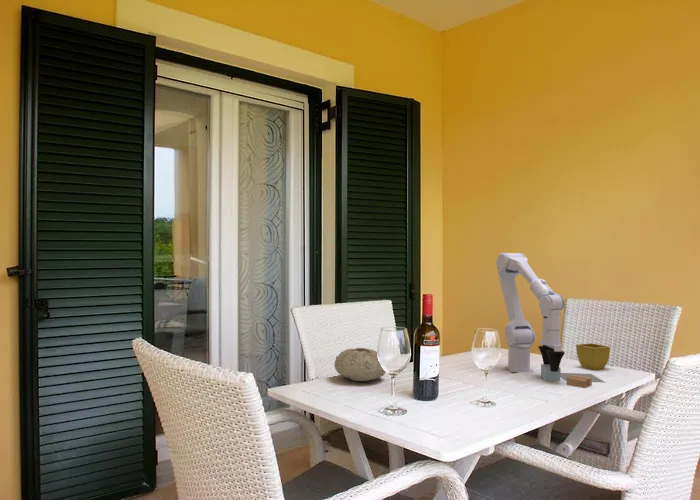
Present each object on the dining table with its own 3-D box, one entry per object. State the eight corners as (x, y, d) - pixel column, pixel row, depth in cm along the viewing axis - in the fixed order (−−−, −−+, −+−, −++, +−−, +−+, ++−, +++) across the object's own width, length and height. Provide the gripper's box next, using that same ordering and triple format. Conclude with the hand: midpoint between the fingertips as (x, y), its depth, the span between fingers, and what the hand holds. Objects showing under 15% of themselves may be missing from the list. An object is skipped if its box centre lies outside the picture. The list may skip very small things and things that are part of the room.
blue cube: (540, 378, 185) (541, 364, 185) (555, 379, 185) (555, 364, 185) (545, 382, 180) (545, 367, 180) (560, 382, 180) (560, 367, 180)
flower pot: (574, 367, 204) (575, 344, 204) (591, 365, 208) (591, 342, 208) (594, 372, 196) (594, 348, 196) (610, 370, 200) (611, 346, 200)
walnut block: (573, 383, 180) (573, 374, 180) (591, 386, 176) (591, 377, 176) (566, 386, 175) (566, 377, 175) (585, 390, 171) (585, 380, 171)
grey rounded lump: (397, 381, 178) (398, 351, 178) (356, 389, 167) (357, 357, 167) (363, 371, 192) (364, 343, 192) (323, 377, 181) (323, 348, 181)
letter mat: (554, 373, 193) (554, 372, 193) (591, 374, 192) (591, 373, 192) (566, 382, 180) (566, 381, 180) (605, 383, 179) (605, 382, 179)
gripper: (533, 326, 190) (533, 364, 190) (545, 332, 176) (545, 373, 176) (553, 326, 190) (553, 365, 190) (567, 332, 175) (567, 373, 175)
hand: (550, 369), depth 183 cm, fingers open, 7 cm apart
